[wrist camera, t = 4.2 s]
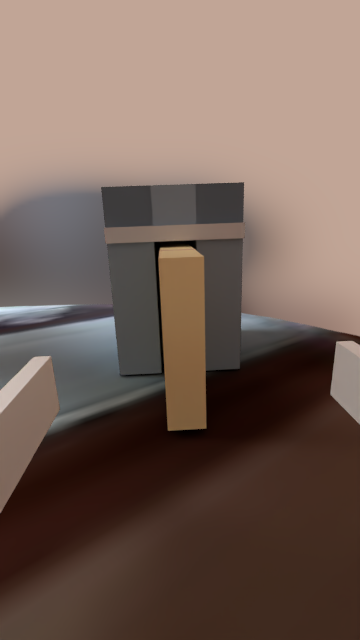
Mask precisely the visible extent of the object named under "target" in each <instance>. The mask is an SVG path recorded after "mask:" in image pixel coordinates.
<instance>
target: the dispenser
mask: <svg viewBox="0 0 360 640" xmlns="http://www.w3.org/2000/svg"><path fill="white" fill-rule="evenodd" d="M101 189H102V200H103V210H104V220H105V228H104V233H105V243H106V244H107V248H108V259H109V269H110V279H111V289H112V299H113V309H114V319H115V329H116V339H117V349H118V359H119V369H120V375H132V374H151V373H162V315H161V297H160V279H159V261H158V258H159V250H160V247H161V243H183V242H186V243H187V244H189V245H190V246H191V247H192V248H194V249H196V251H198V252H199V253H200V254H201V255H203V256H204V291H205V365H206V370H224V369H240V343H241V296H242V249H243V248H242V247H243V238H244V237H245V223H243V201H244V200H243V199H244V183H214V184H186V185H185V184H184V185H154V186H126V187H125V186H124V187H102V188H101Z"/></svg>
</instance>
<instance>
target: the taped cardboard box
mask: <svg viewBox="0 0 360 640" xmlns="http://www.w3.org/2000/svg"><path fill="white" fill-rule="evenodd" d="M158 261H159V279H160V297H161V315H162V334H163V352H164V370H165V388H166V406H167V424H168V431H173V430H190V429H206V365H205V291H204V256H203V255H201V254H200V253H199V252H198V251H196V249H194V248H192V247H191V246H190V245H189V244H187V243H186V242H183V243H161V247H160V250H159V258H158Z"/></svg>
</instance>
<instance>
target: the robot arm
mask: <svg viewBox="0 0 360 640" xmlns="http://www.w3.org/2000/svg"><path fill="white" fill-rule="evenodd" d="M330 394H331V396H332V397H333V398H334V399H335V400H336V401H337V402H338V403H339V404H340V405H341V406H342V407H343V408H344V409H345V410H346V411H347V412H348V413H349V414H350V415H351V416H352V417H353V418H354V419H355V420H356V421H357V422H358V423H359V424H360V345H358V344H357V343H355V342H354V341H340V342H336V350H335V358H334V367H333V376H332V384H331V393H330ZM59 410H60V407H59V401H58V395H57V389H56V383H55V377H54V371H53V365H52V359H51V356H40V357H33V358H32V359H31V360H30V361H29V362H28V363H27V364H26V365H25V366H24V367H23V368H22V369H21V370H20V371H19V372H18V373H17V374H16V375H15V376H14V377H13V378H12V379H11V380H10V381H9V382H8V383H7V384H6V385H5V386H4V387H3V388H2V389H1V390H0V513H1V511H2V509H3V508H4V506H5V504H6V502H7V501H8V499H9V497H10V496H11V494H12V492H13V490H14V489H15V487H16V485H17V483H18V482H19V480H20V478H21V476H22V475H23V473H24V471H25V469H26V468H27V466H28V464H29V462H30V461H31V459H32V457H33V455H34V454H35V452H36V450H37V448H38V447H39V445H40V443H41V441H42V440H43V438H44V436H45V434H46V433H47V431H48V429H49V427H50V426H51V424H52V422H53V420H54V419H55V417H56V415H57V414H58V412H59Z"/></svg>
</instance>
